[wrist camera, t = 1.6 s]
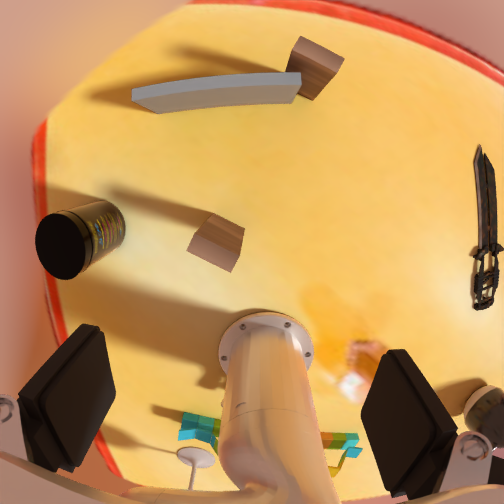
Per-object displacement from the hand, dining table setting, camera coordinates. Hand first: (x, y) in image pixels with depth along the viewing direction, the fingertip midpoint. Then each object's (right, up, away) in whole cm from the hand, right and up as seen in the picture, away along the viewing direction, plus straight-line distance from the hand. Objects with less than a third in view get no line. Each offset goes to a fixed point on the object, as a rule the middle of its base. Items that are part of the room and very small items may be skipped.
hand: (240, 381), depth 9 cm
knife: (+35, +7, +26) cm, 44 cm away
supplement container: (-18, +7, +26) cm, 33 cm away
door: (-3, +21, +21) cm, 30 cm away
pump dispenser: (+46, -26, +34) cm, 63 cm away
